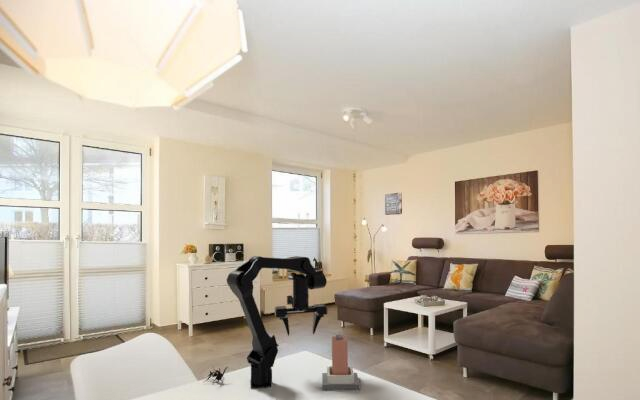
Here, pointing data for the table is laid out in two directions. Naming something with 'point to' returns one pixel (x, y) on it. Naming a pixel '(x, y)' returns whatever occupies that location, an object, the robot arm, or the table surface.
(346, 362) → the pink square bar
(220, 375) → the creature
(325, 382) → the grey socket base
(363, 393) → the table surface
